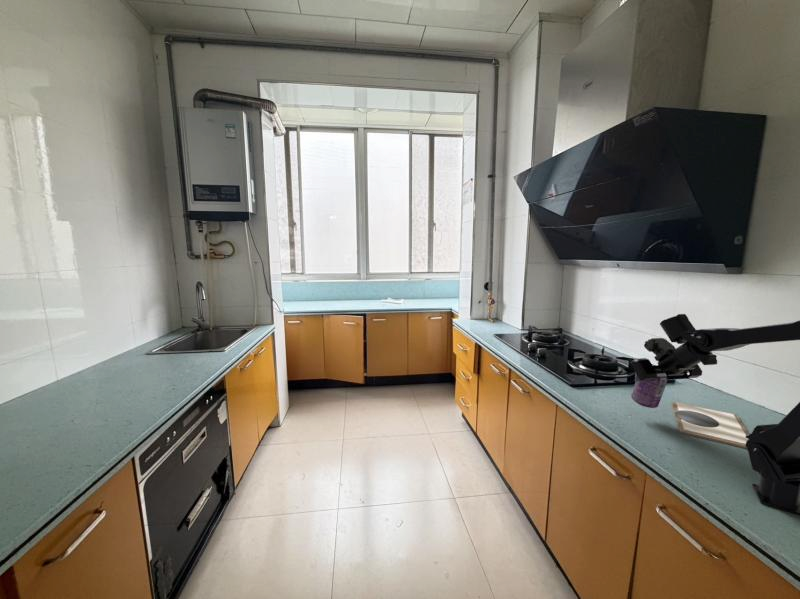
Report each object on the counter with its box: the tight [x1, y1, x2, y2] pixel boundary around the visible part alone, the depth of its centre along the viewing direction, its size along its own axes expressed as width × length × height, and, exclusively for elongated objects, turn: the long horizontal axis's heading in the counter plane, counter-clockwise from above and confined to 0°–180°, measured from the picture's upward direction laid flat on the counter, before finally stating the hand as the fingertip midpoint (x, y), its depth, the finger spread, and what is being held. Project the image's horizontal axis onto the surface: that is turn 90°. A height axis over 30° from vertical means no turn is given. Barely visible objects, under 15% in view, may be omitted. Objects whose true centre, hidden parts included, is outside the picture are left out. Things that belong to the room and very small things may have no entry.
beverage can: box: [631, 374, 668, 409], centre depth 101 cm, size 7×7×12 cm
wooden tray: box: [671, 401, 750, 449], centre depth 100 cm, size 22×16×1 cm
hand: (647, 379), depth 102 cm, fingers closed on beverage can, 7 cm apart
